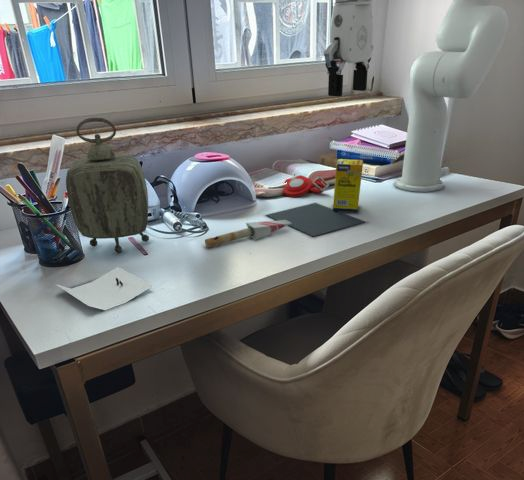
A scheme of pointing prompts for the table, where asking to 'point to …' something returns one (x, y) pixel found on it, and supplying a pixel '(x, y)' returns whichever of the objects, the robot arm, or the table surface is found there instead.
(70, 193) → the tabletop clock
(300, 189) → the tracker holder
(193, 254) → the table surface
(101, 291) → the folded paper
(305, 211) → the mat
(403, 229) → the table surface
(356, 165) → the supplement box
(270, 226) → the paintbrush
